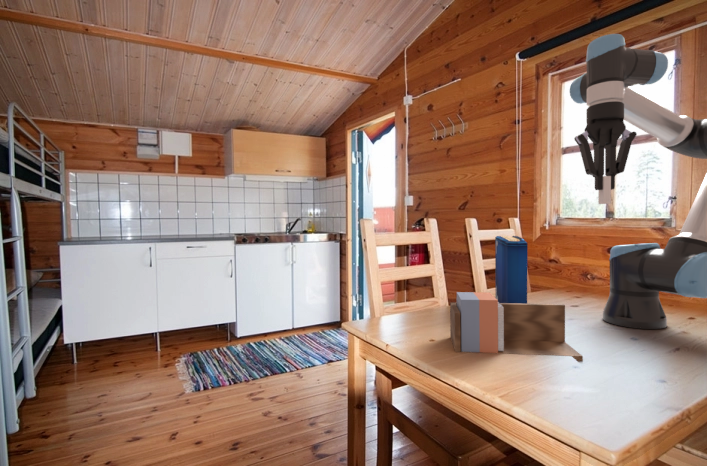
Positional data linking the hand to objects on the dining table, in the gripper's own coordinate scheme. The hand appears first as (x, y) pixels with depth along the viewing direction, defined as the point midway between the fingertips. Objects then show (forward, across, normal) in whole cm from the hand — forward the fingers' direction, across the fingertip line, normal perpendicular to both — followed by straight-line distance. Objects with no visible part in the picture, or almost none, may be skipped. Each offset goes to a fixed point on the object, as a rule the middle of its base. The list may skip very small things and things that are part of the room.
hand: (604, 203), depth 92 cm
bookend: (+33, +26, +7) cm, 43 cm away
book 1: (+33, +33, +7) cm, 48 cm away
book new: (+33, +29, +7) cm, 45 cm away
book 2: (+35, +13, -35) cm, 51 cm away
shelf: (+34, +23, +6) cm, 42 cm away
